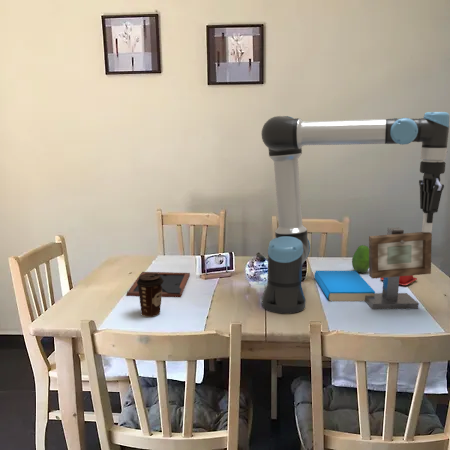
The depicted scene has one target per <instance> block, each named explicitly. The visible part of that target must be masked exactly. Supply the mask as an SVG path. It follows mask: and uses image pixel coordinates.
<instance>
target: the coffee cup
mask: <svg viewBox="0 0 450 450" xmlns="http://www.w3.org/2000/svg"><path fill="white" fill-rule="evenodd" d="M139 276H140V275H139ZM139 276H138V277H139ZM162 283H163V279H162V277H160V275H159V274H157V273H154V274H153V273H147V274H143V275H141V276H140V277H139V279H138V281H137V284H138V290H139V296H138V297H139V305H140V315H141V316H142V317H145V318H146V317H148V318H149V317H151V318H152V317H156V316H159V315H160V314H161V306H162V305H161V304H162V297H161V296H162V286H161V284H162Z"/></svg>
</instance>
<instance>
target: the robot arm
mask: <svg viewBox="0 0 450 450" xmlns="http://www.w3.org/2000/svg"><path fill="white" fill-rule="evenodd" d="M449 132H450V114H449V112H446V111H427V112H425V113H424V116H423V117H421V118H409V117H402V118H400V117H399V118H395V117H394V118H375V119H374V118H373V119H371V118H370V119H346V120H345V119H344V120H343V119H342V120H341V119H339V120H308V121H307V120H306V121H304V120H302V119H301V118H300V117H299V118H294V117H291V116H288V115H286V116H285V115H282V116H281V115H279V116H278V115H277V116H273V117H270V118H269V119H268V120H267V121H265V123H264V124H263V126H262V129H261V140H262V142H263V144H264V146H265V147H267V148H268V157H269V158H270V159H271V160H272V161H273V166H274V167H273V168H274V182H275V191H276V193H275V194H276V205H277V206H276V207H277V219H278V227H277V228H276V229H274V230H275V231H274V233H275V234H274V238H272V239H271V240H270V241H269V244H268V248H267V284H266V286H265V288H264V291H263V295H262V297H261V306H262V307H263V309H265V310H267V311H269V312H271V313H276V314H284V313H289V314H296V313H295V312H297V313H300V312H302V311H304V310H305V309H306V305H307V304H306V303H307V302H306V298H305V295H304V289H303V286H302V275H303V274H302V273H303V265H304V263H305V261H306V260H307V259H308V257H309V255H310V252H311V243H310V240H309V238H308V228H307V227H306V226H304V225H303V216H302V215H303V212H302V200H301V198H302V197H301V196H302V195H301V185H300V184H301V183H300V182H301V181H300V171H299V170H300V169H299V168H300V167H299V158H300V156H301V155H302V154H303V150H302V149H303V148H302V147H304V146H337V145H338V146H339V145H340V146H343V145H347V146H348V145H396V144H397V145H402V146H403V145H409V144H411V143H421V148H420V149H421V150H420V160H422V161H420V163H419V165H420V166H419V172H420V173H421V174H423V176H422V179H419V180H418V185H419V205H420V210H422V213H423V215H422V226H421V232H430V233H432V232H433V224H434V223H433V221H434V214H435V213H438V212H439V207H440V202H441V198H442V192H443V190H444V188H445V185H444V184H441V175H443V174H445V171H446V165H447V164H446V162H445V161H446V160H447V153H448V150H447V149H448V141H449ZM304 308H305V309H304ZM303 309H304V310H303ZM299 311H300V312H299Z"/></svg>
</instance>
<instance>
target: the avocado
mask: <svg viewBox="0 0 450 450" xmlns="http://www.w3.org/2000/svg"><path fill="white" fill-rule="evenodd" d="M351 265H352V269H353V271H356V272H357V273H361V274H362V273H366V272H367V271H369V246H367V245H365V244H362V245H358V247H357V248H356V250H355V252H354V253H353V255H352V259H351Z"/></svg>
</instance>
